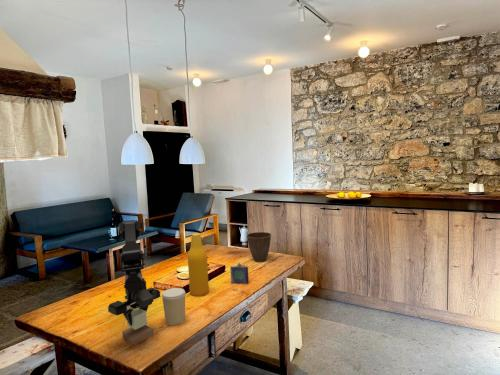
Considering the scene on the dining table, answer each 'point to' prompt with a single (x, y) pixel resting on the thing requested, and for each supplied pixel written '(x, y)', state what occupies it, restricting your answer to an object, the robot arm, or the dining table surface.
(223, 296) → the dining table surface
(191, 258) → the beer bottle
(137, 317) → the cube
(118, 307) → the robot arm
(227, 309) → the dining table surface
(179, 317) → the coffee cup
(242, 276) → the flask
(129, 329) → the base
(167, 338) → the dining table surface
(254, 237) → the plant pot
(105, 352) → the dining table surface
